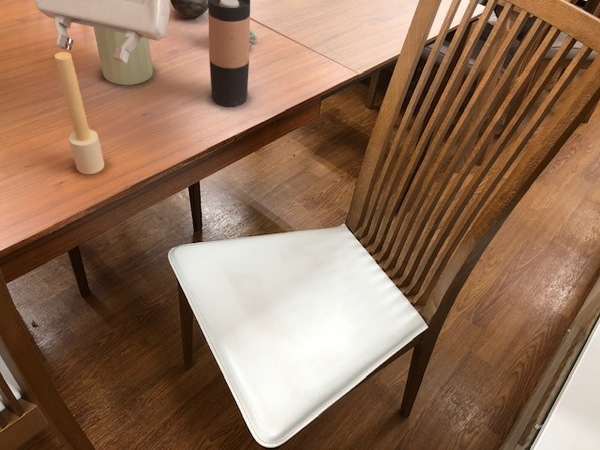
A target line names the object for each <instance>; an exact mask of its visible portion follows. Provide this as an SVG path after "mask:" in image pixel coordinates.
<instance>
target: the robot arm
mask: <svg viewBox="0 0 600 450" xmlns="http://www.w3.org/2000/svg"><path fill="white" fill-rule="evenodd" d="M34 2H35V6H36V8H37V10H38V11H39V12H41V13H42V14H43V15H45V16H46V17H48V18H49V19H50V18H51V19H54V20H53V23H54V27H55V30H56V32H57V39H56V47H57V48H59V49H60V50H65V51H69V52H70V51H71V50H72V49H73V44H74V40H73V39H72V38H71V37H69V33H68V30H67V29H70V28H71V26H72V23H73V24H78V25H82V26H87V27H92V28H94V27H96V28H101V29H105V30H110V31H115V32H119V33H124V34H126V35H125V36H126V38H128V39H127V41H126V42H125V43H124V44H123V45H122V47H121V48H119V47H116V48H115V54H114V59H115V60H116V61H119V62H123V63H127V62H128V58H129V54H130V53H131V52H132V51H133V50H134V49H135V48H136V47H137V46H138V45H139V43H140V39H141V37H142V38H147V39H149V40H151V41H157V42H158V41H161V40H162V39H163V38H164V37H165V36H166V34H167V31H168V25H169V20H170V11H171V4H170V0H34Z"/></svg>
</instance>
